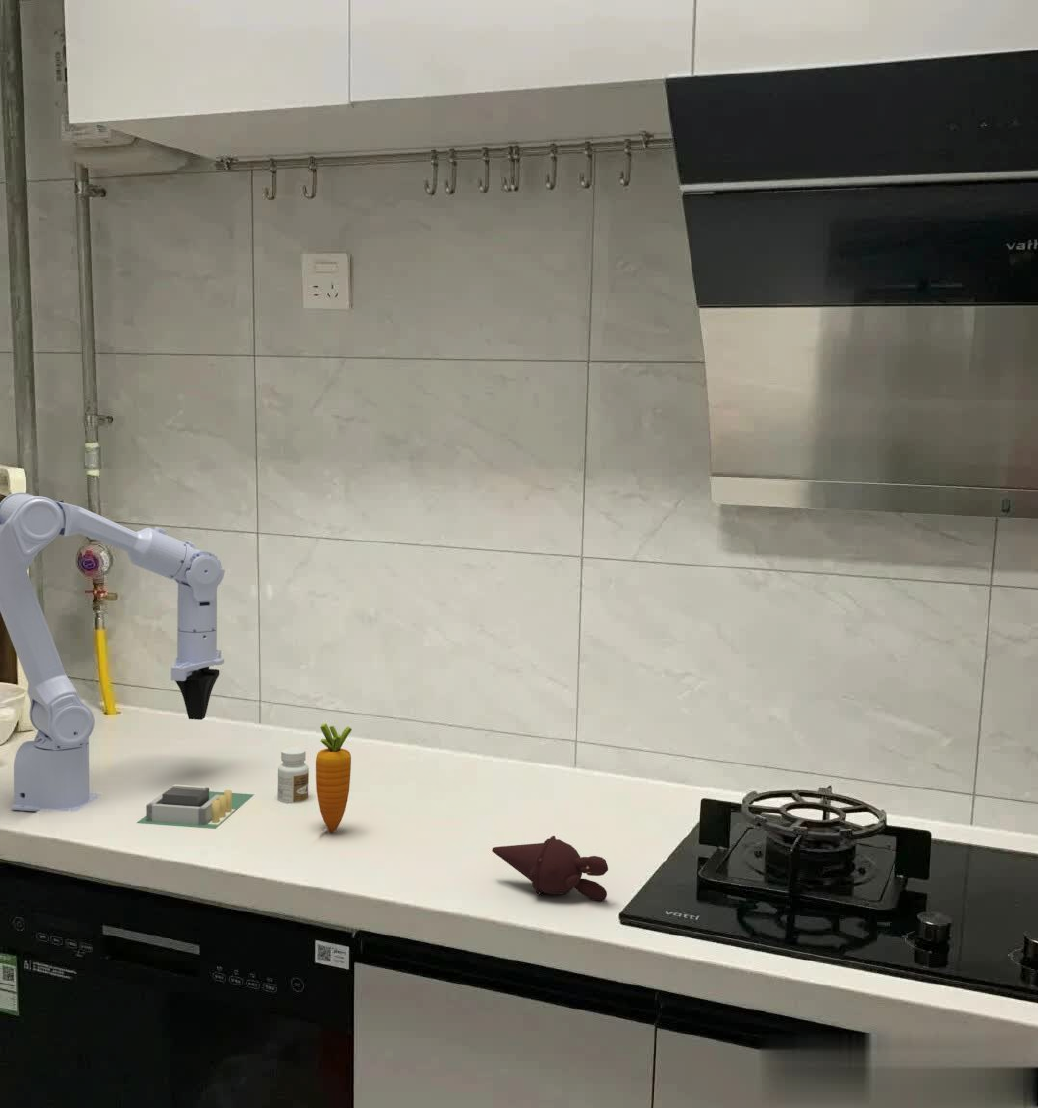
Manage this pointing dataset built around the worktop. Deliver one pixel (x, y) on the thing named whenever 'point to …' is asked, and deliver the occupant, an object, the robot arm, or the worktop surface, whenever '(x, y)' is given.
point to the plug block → (186, 795)
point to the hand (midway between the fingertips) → (196, 718)
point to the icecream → (556, 867)
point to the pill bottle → (293, 776)
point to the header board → (195, 811)
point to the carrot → (333, 777)
